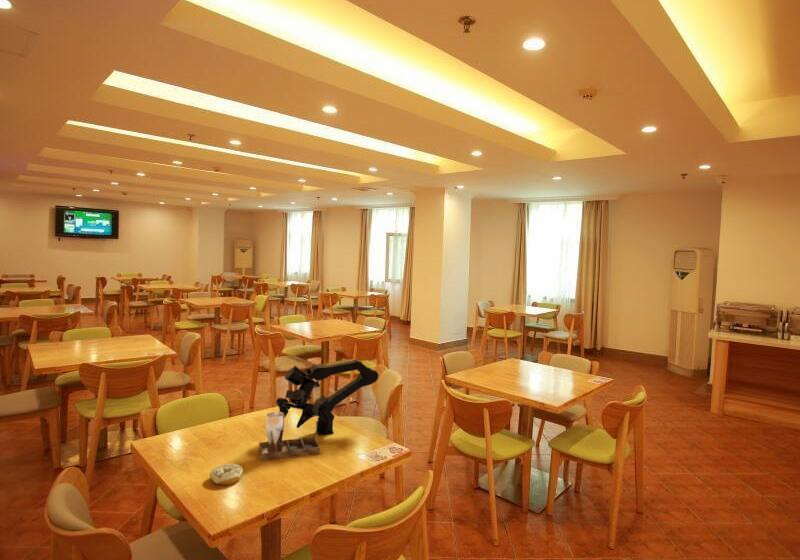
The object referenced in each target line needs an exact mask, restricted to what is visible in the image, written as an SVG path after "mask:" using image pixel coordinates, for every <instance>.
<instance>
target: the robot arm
mask: <svg viewBox="0 0 800 560" xmlns="http://www.w3.org/2000/svg"><path fill="white" fill-rule="evenodd" d="M354 371H357V372H359V373H358V375H357V376H356V378H355V379H353V380H352V381H350V382H349V383H348V384H346V385H345V386H343V387H342V388H340V389H339V390H337V391H336V392H334V393H333V394H331V395H330V396H325V395H322V396H320V397H319V398H318V399H315V402H314V403H311V402H308V401H309V400H311V399H312V396H311V395H312V393H313V391H314V389H316V388H319V387H321V385H320V381H323V380H325V379H328V378H329V377H330V376H333V375H336V374H337V375H338V374H343V373H348V372H354ZM284 380H286V381H287V382H288V383H290V384H292V385H293V386H295V387H297V386H299V387H298V389H295V390H289V389H287V390H286V394H285V397H278V398H276V401H275V404H276V405H277V407H278V408H279V410H278V412H283V413H284V419H285V418H286V416H287V415H288V413H289V410H290V409H291V408H292V409H295V410H296V409H297V410H302V411H301V416H300V417H299V419H298V421H297V424H296V428H297V429H299V428H300V427H301V426H303V425H304V424H305V423H306V422H307V421H309V420H310V419H311V418H314V417H317V420H316V421H315V431H316V433H317V434H318V436H322V435H323V436H324V435H330V434H331V435H333V434H335V433H334V431H333V430H334V428H333V425H334V418H335V415H334V414H333V413H332V412H333V410H334V409H335V407H336V406H337V405H338V404H340V403H341V402H343V401H344V400H345V399H347V398H348V397H350V396H351V395H353V394H354V393H355V392H357V391H358V390H360V389H362V387H363V388H364V387H367V386H370V385H372V384H375V383H376V382H377V381H378V380H379V373H378V372H377V370H374V369H373V368H371V367H368V366H366V365H365V364H364V363H363V362H362V361H360V360H359V359H352V360H349V361H344V362H338V363H334V364H312V365H311V367H309V368H307V369H304V370H301V369H300V368H299V367H298V366H296V365H293V367H291V368H290V369H289V370H287V372H286V373H285V375H284ZM288 399H289V400H288Z"/></svg>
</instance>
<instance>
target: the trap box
mask: <svg viewBox="0 0 800 560" xmlns="http://www.w3.org/2000/svg"><path fill="white" fill-rule="evenodd" d="M282 447H283V451H281V452H272V453H267V448H268V441H264V442H262V441H261V442H258V451H259V459H260V460H259V461H260V462H263V461H272V460H279V459H288V458H296V457H297V458H298V457H304V456H312V455H313V456H314V455H319V454H320V453H321V447H320V444H319V442H318V440H317V437H316V436H309V437H308V436H307V437H299V438H292V439H291V438H290V439H282Z"/></svg>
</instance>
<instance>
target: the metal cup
mask: <svg viewBox="0 0 800 560" xmlns="http://www.w3.org/2000/svg"><path fill="white" fill-rule="evenodd" d="M265 418H266V419H265V429H266V430H265V431H266V437H267V442H268V448H267V453H272V452H281V451H283V447H282V440H283V437H284V432H285V418H284V413H283V412H279V411H271V412H268V413H266V417H265Z"/></svg>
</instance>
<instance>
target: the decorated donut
mask: <svg viewBox="0 0 800 560" xmlns="http://www.w3.org/2000/svg"><path fill="white" fill-rule="evenodd" d="M242 475H243V468H242V466H240V465H239V464H236V463H226V464H221V465H217V466H216V467H214V468H212V469H211V471H210V472H209V477H210V480H211V482H212V483H214V484H216V485H218V486H230V485H231V486H232V485H233V484H236V483H238V482H239V481H240V479H241V478H242Z"/></svg>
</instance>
